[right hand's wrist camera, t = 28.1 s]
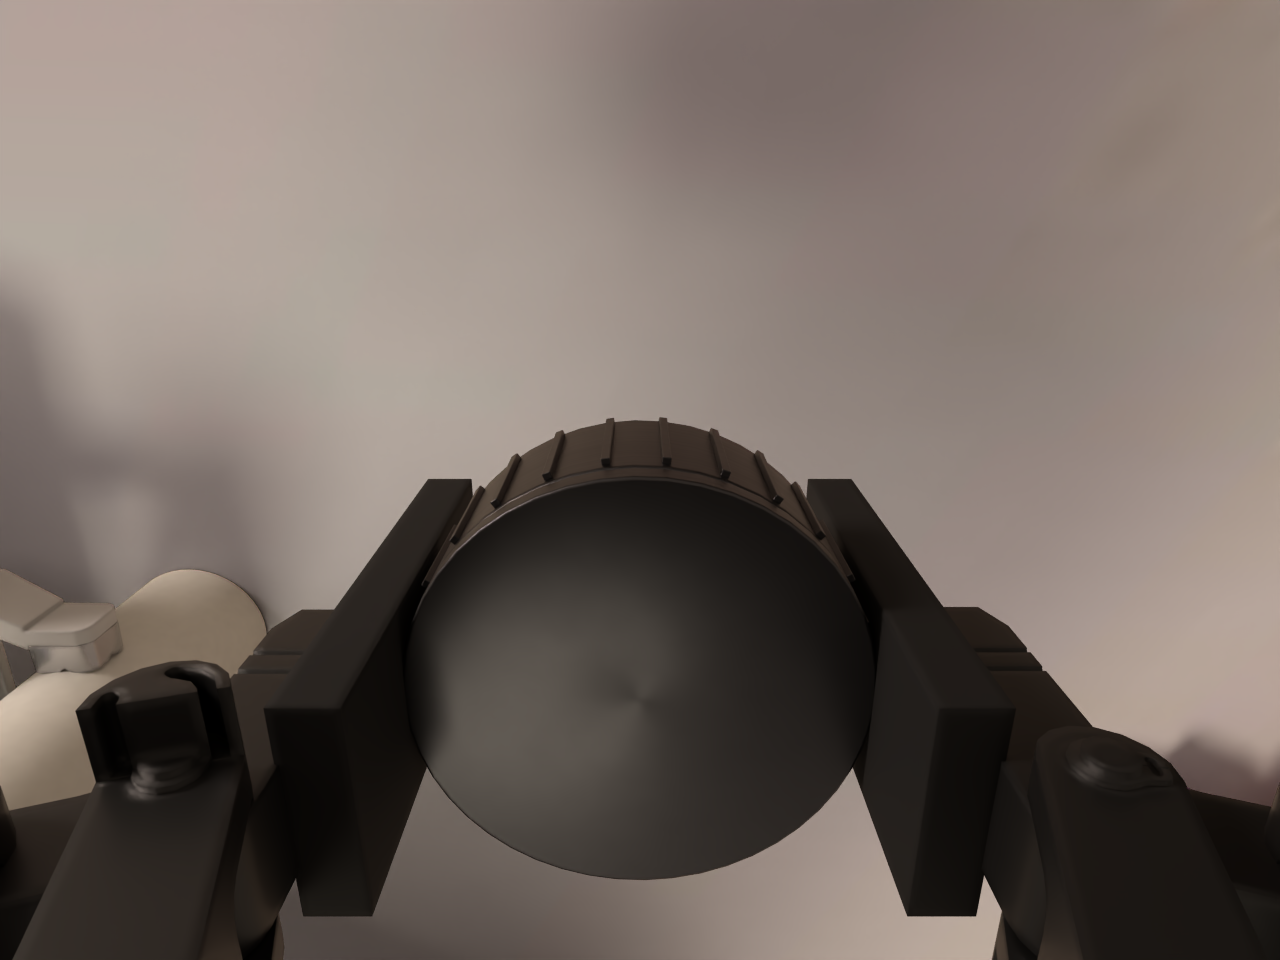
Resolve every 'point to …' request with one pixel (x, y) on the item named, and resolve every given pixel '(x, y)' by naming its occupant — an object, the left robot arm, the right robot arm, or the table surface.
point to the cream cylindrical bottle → (151, 634)
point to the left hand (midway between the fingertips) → (129, 725)
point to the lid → (639, 655)
